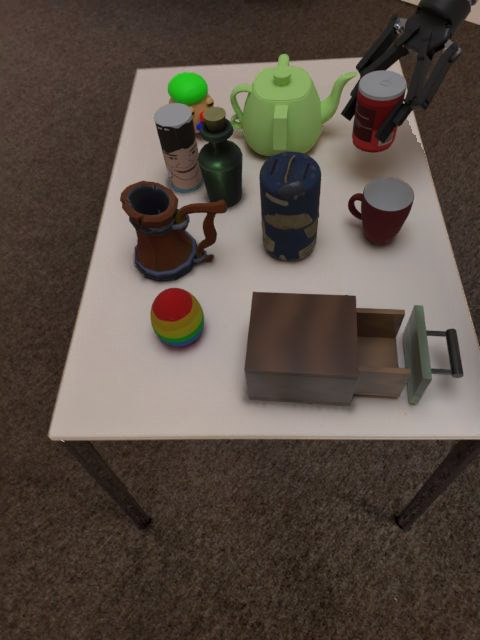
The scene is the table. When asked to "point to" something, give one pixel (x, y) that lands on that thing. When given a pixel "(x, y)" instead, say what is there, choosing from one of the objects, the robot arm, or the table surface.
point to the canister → (290, 204)
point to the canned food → (376, 108)
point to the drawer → (381, 353)
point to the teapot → (284, 109)
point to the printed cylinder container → (179, 146)
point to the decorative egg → (177, 317)
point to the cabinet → (302, 348)
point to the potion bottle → (220, 158)
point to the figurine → (191, 95)
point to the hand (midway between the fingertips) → (361, 128)
